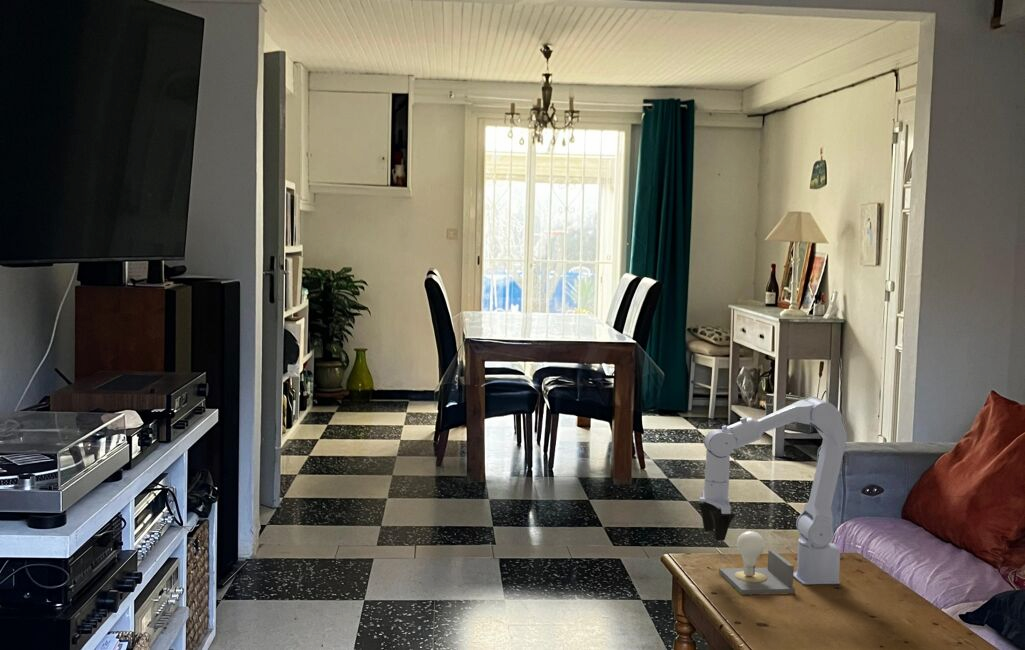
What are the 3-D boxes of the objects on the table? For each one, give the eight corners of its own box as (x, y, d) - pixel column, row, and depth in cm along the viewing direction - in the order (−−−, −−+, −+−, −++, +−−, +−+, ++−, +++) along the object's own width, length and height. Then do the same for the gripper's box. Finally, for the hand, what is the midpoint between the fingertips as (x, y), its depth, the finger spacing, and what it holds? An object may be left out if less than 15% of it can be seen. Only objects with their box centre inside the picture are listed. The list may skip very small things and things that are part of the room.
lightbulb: (763, 581, 231) (765, 536, 230) (735, 579, 232) (737, 533, 231) (762, 573, 237) (764, 528, 236) (735, 571, 238) (737, 526, 238)
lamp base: (770, 572, 243) (771, 547, 242) (795, 593, 228) (797, 567, 227) (719, 573, 241) (720, 548, 240) (741, 594, 226) (742, 568, 225)
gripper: (690, 473, 242) (688, 527, 243) (711, 487, 228) (708, 544, 229) (718, 473, 243) (715, 526, 244) (740, 487, 229) (737, 544, 230)
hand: (714, 535), depth 237 cm, fingers open, 7 cm apart
